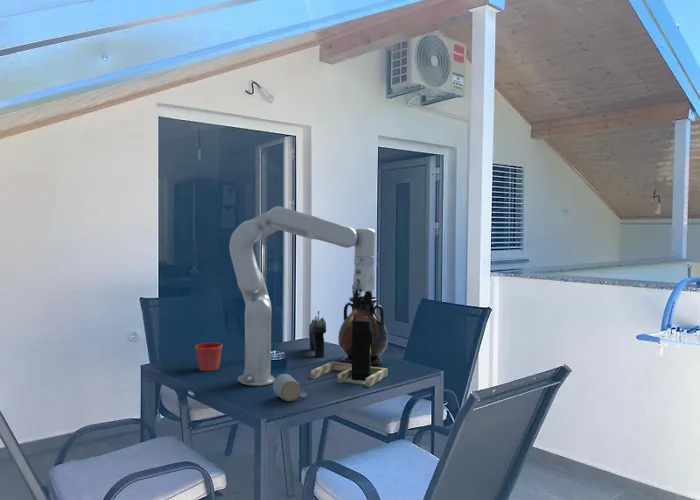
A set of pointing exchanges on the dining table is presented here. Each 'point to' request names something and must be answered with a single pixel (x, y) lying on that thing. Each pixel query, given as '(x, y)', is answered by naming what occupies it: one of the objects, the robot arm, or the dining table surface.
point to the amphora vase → (378, 330)
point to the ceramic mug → (287, 388)
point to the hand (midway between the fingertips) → (362, 306)
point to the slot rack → (347, 375)
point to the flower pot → (208, 356)
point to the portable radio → (361, 348)
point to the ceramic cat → (317, 336)
